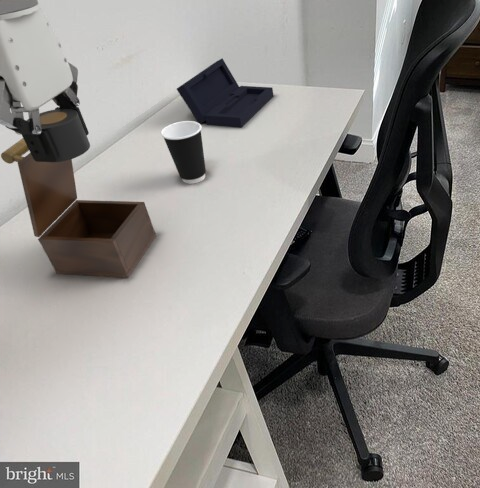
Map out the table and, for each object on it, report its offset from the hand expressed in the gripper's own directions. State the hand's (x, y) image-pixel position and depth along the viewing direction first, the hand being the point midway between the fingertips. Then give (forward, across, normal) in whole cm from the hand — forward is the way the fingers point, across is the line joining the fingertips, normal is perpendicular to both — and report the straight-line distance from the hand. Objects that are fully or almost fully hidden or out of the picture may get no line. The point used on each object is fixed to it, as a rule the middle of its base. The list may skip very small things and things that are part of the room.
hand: (62, 146), depth 64 cm
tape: (+1, 0, 0) cm, 1 cm away
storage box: (+23, -67, -2) cm, 71 cm away
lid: (+9, -5, -9) cm, 13 cm away
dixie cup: (+23, -31, +1) cm, 38 cm away
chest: (+23, -5, -4) cm, 24 cm away
